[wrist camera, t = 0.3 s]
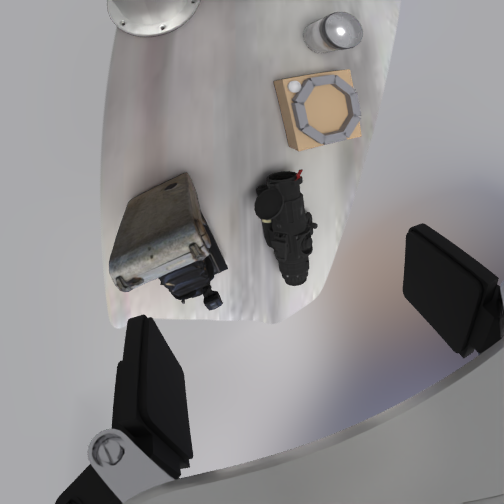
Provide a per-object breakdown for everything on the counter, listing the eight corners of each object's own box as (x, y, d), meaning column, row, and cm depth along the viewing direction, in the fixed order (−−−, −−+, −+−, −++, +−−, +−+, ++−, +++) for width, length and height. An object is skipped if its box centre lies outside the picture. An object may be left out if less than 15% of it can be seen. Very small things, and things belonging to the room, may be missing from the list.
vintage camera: (173, 277, 50) (182, 373, 33) (126, 197, 42) (102, 273, 25) (227, 253, 50) (260, 341, 34) (187, 167, 42) (201, 226, 25)
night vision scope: (286, 259, 56) (252, 290, 49) (272, 161, 47) (229, 182, 41) (326, 268, 51) (295, 304, 44) (318, 163, 42) (280, 185, 36)
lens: (298, 23, 35) (322, 11, 28) (330, 21, 35) (358, 11, 28) (307, 55, 37) (332, 49, 30) (338, 52, 38) (367, 47, 31)
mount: (273, 81, 38) (286, 79, 34) (336, 70, 39) (355, 69, 34) (289, 146, 43) (302, 153, 39) (348, 132, 44) (367, 137, 39)
